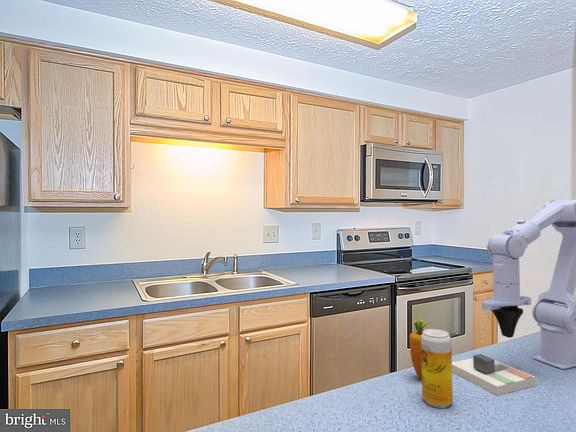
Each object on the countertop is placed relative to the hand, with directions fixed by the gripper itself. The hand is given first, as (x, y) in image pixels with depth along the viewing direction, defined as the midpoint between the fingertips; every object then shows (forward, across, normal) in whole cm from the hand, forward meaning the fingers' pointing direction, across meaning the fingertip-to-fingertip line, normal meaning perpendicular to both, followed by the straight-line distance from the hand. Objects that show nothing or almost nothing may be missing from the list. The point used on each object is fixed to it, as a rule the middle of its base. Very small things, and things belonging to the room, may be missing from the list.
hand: (507, 336), depth 92 cm
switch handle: (+9, +8, 0) cm, 12 cm away
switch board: (+9, +6, 0) cm, 11 cm away
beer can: (+10, +26, +4) cm, 28 cm away
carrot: (+10, +22, -6) cm, 25 cm away
